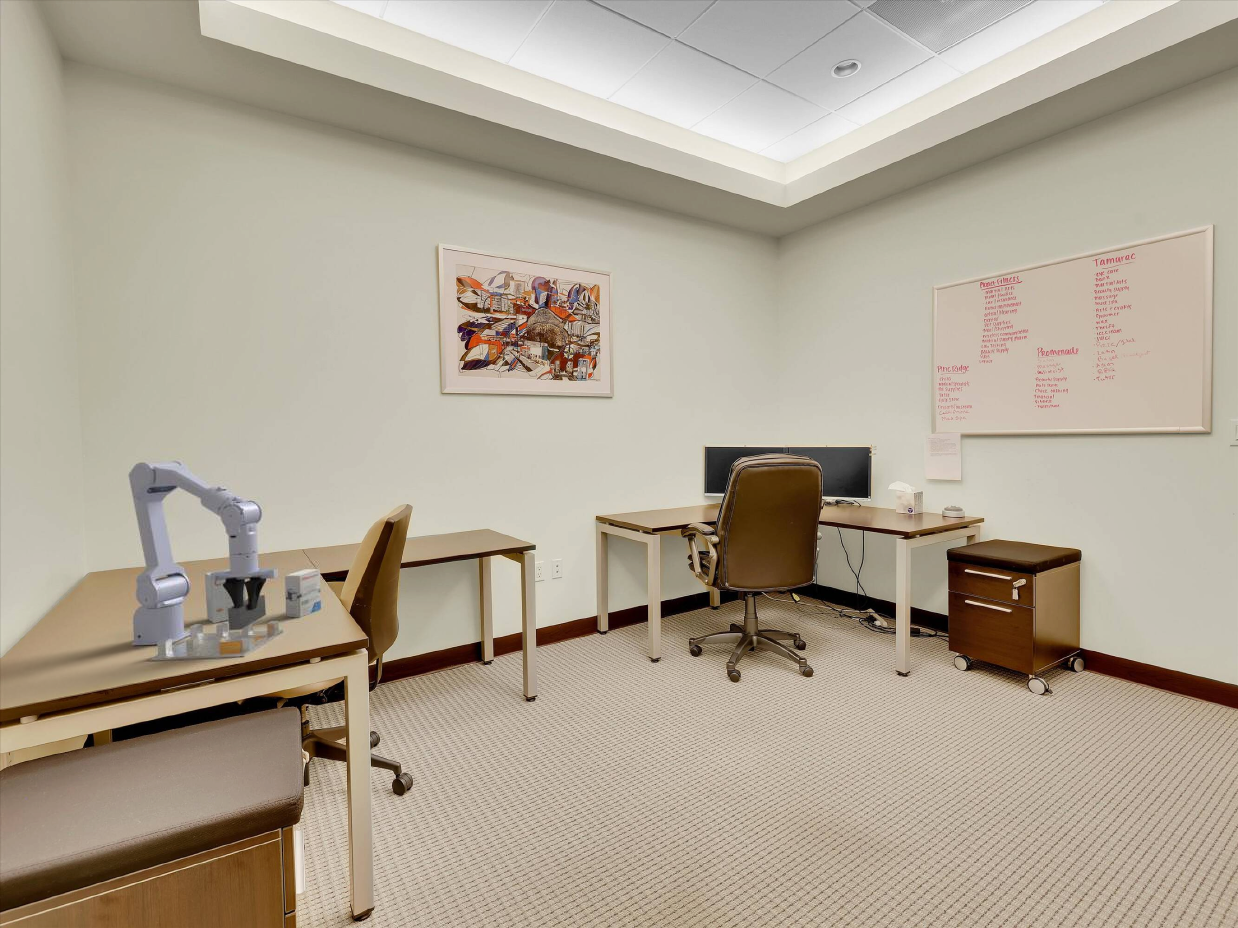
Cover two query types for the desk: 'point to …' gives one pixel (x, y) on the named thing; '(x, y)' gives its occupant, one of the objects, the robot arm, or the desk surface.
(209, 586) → the small box
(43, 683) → the desk surface
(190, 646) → the rack
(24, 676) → the desk surface
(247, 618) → the panel
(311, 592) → the ink box
